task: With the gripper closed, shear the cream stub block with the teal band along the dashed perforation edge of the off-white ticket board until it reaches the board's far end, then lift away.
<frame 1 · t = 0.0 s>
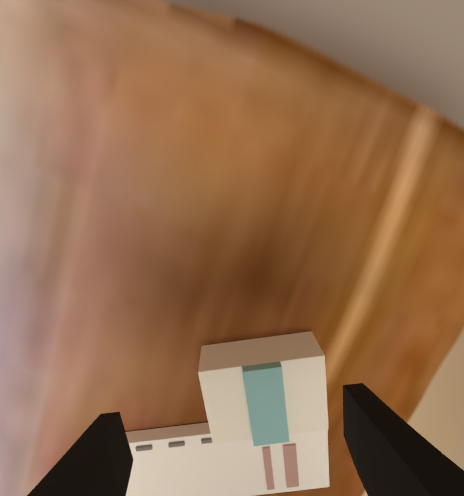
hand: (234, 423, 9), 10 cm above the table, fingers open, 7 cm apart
ticket board: (215, 455, 22), on the table
stub: (260, 369, 21), on the table
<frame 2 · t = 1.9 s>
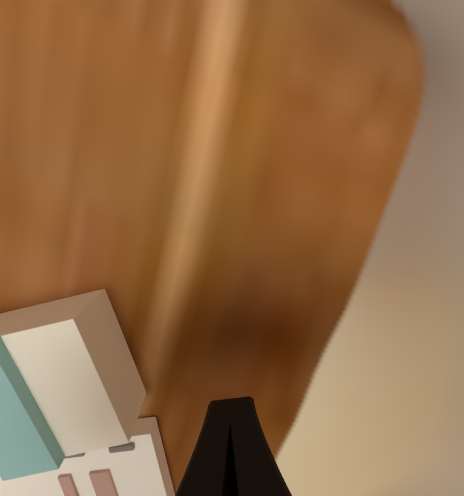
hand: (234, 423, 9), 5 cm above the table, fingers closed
ticket board: (9, 484, 15), on the table
stub: (53, 357, 14), on the table
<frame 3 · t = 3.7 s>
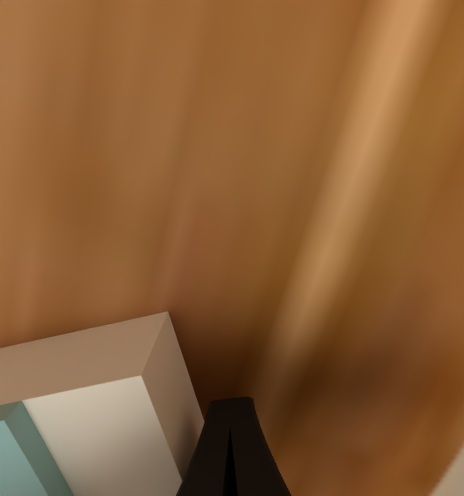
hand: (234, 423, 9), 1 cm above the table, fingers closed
stub: (86, 404, 10), on the table, touching gripper
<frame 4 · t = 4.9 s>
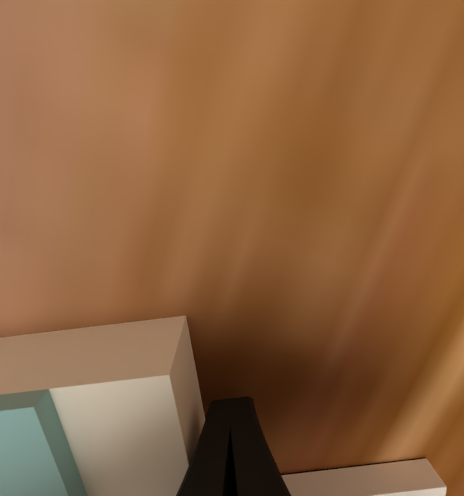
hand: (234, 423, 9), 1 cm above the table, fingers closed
stub: (92, 397, 10), on the table, touching gripper
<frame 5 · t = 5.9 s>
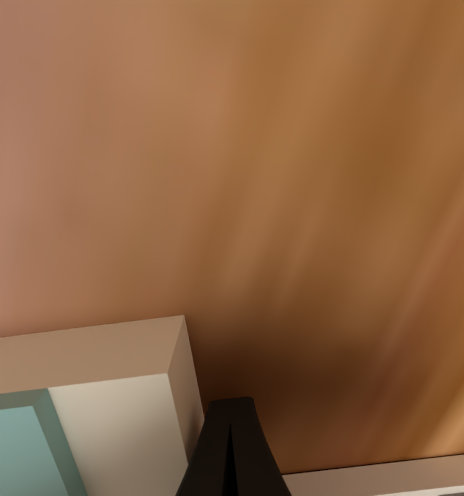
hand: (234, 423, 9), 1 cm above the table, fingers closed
stub: (92, 396, 10), on the table
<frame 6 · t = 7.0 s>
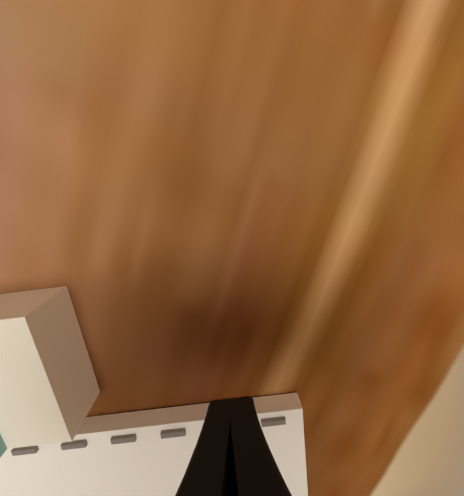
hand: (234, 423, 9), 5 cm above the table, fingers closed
ticket board: (142, 460, 15), on the table
stub: (9, 347, 14), on the table
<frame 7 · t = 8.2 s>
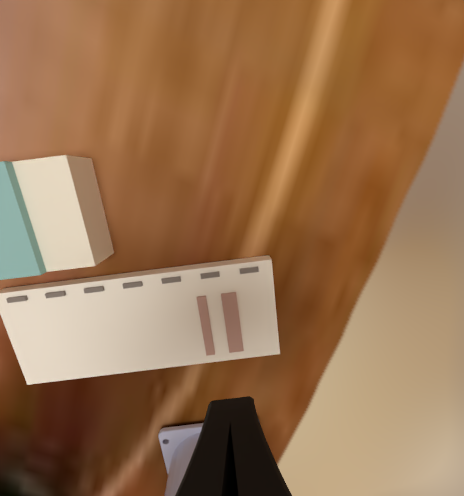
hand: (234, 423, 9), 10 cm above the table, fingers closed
ticket board: (147, 317, 19), on the table
stub: (44, 214, 17), on the table
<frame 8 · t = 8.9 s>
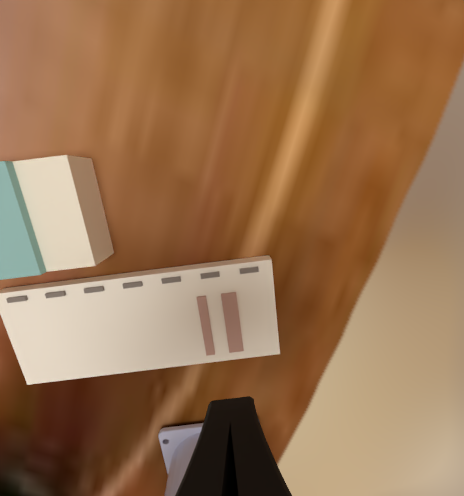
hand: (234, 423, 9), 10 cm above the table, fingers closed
ticket board: (147, 317, 19), on the table
stub: (44, 214, 17), on the table
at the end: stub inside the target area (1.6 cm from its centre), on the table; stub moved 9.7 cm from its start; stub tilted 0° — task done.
